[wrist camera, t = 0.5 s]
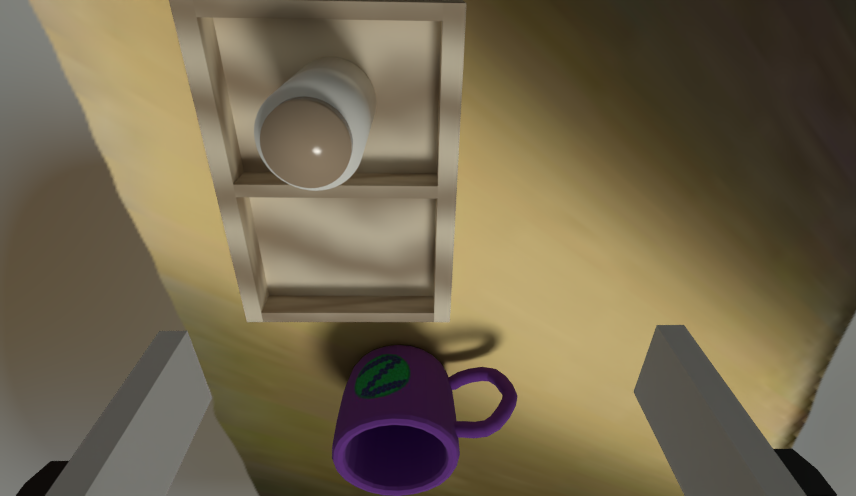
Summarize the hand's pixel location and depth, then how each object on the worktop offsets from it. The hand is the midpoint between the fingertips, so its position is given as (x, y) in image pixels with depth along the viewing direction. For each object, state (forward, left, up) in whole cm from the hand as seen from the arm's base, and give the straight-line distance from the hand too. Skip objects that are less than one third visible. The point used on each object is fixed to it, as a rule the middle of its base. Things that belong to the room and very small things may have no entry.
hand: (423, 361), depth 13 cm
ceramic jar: (-1, -6, -24) cm, 25 cm away
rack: (+4, -6, -25) cm, 26 cm away
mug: (+27, +1, -26) cm, 37 cm away
